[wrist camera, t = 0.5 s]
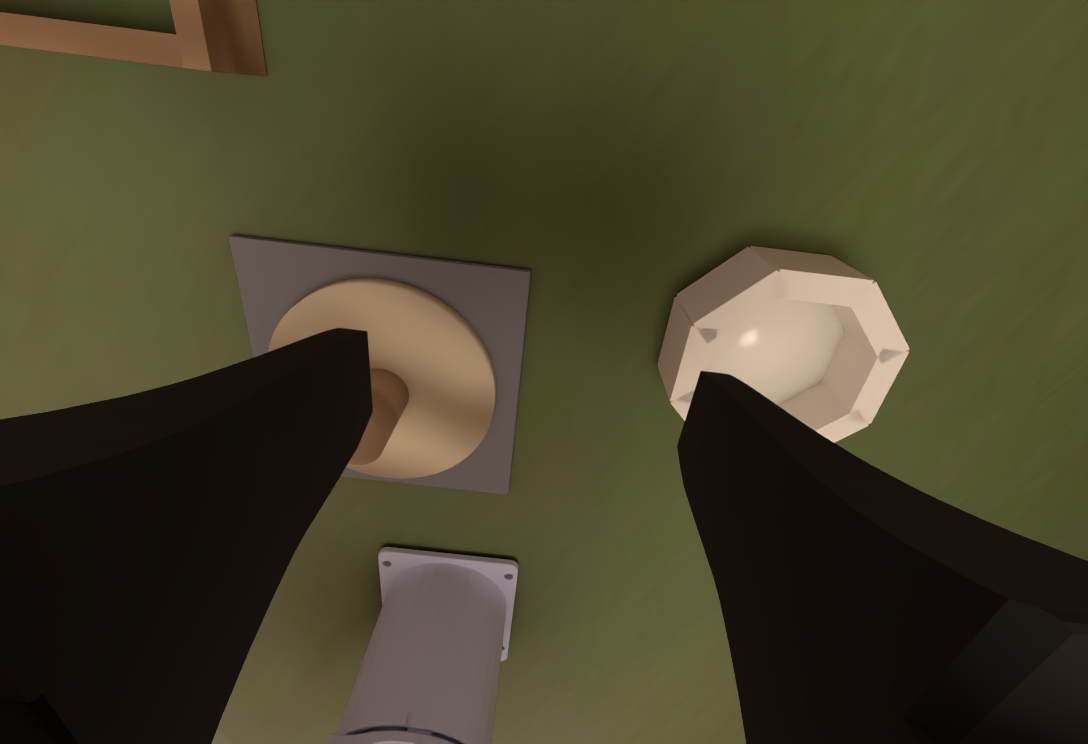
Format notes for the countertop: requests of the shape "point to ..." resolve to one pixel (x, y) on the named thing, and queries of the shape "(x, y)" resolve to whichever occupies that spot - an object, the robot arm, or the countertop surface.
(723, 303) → the bowl
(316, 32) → the countertop surface
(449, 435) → the lid
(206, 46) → the frame
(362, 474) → the mat
